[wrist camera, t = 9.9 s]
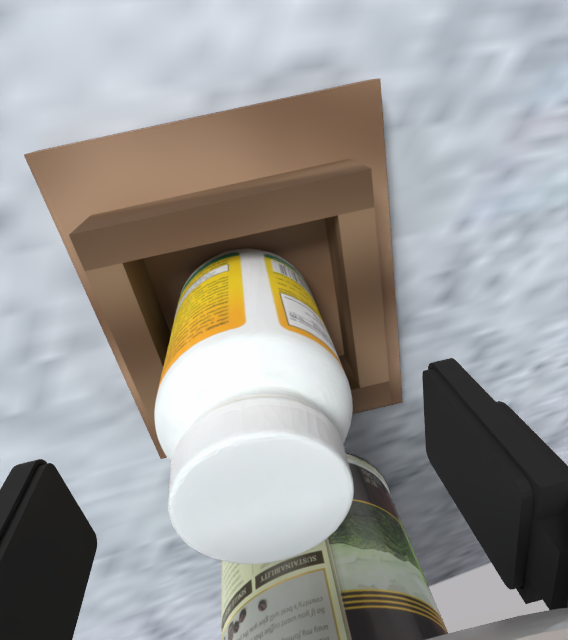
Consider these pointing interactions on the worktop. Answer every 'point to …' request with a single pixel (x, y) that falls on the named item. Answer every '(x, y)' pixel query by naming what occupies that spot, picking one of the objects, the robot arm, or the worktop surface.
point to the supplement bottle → (253, 413)
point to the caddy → (235, 224)
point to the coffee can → (337, 581)
